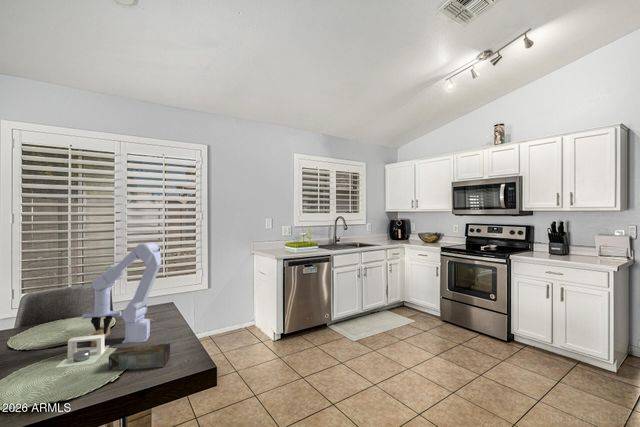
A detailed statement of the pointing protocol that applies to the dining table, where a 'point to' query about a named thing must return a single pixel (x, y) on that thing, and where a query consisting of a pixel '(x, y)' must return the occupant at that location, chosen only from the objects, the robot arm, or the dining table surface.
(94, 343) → the blade batten
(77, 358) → the token
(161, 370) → the dining table surface
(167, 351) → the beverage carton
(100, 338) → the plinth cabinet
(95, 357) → the floor board
